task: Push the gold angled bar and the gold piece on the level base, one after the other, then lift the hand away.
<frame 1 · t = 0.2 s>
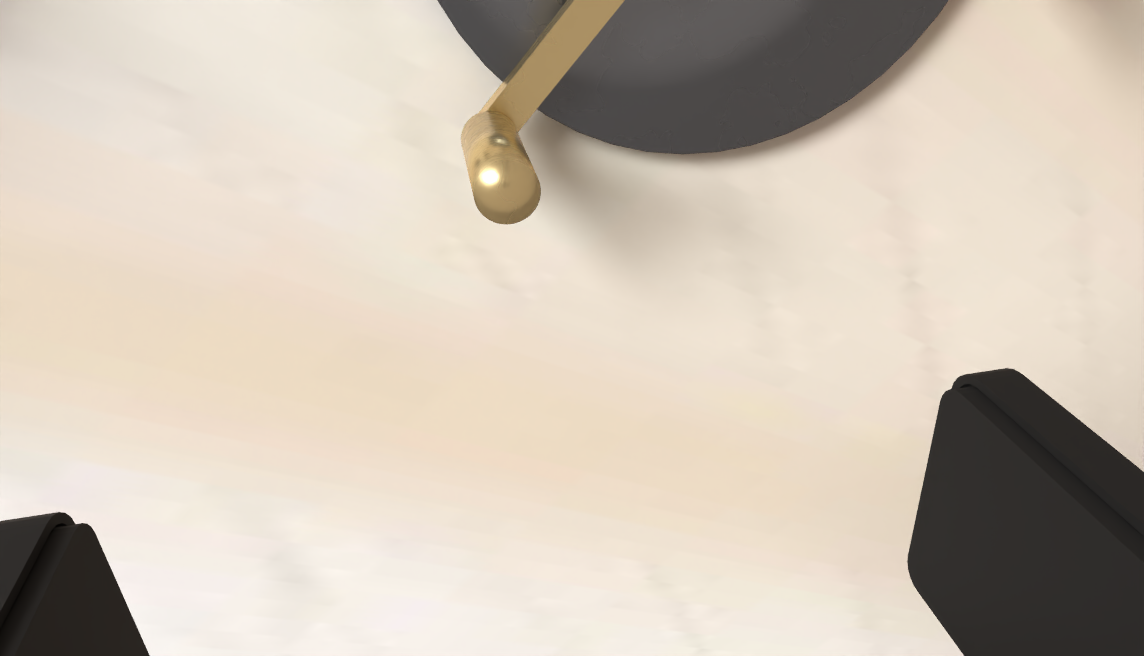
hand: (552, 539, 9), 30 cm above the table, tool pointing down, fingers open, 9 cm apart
gold angled bar 1: (584, 49, 31), point 5 cm above the table, hinge at 0.0°
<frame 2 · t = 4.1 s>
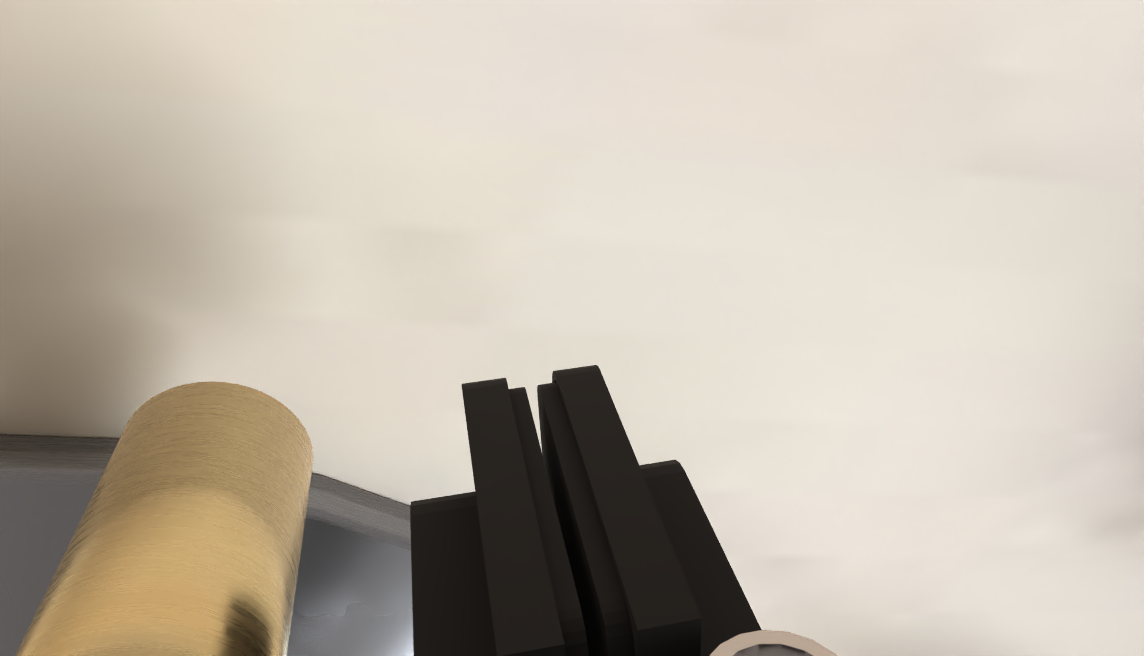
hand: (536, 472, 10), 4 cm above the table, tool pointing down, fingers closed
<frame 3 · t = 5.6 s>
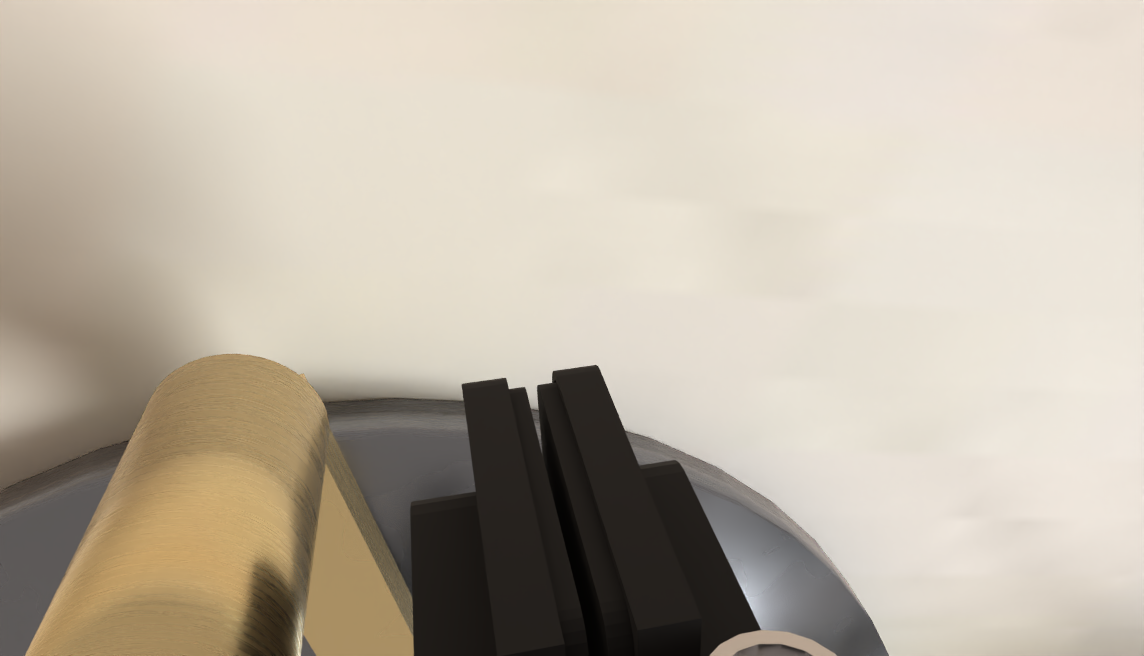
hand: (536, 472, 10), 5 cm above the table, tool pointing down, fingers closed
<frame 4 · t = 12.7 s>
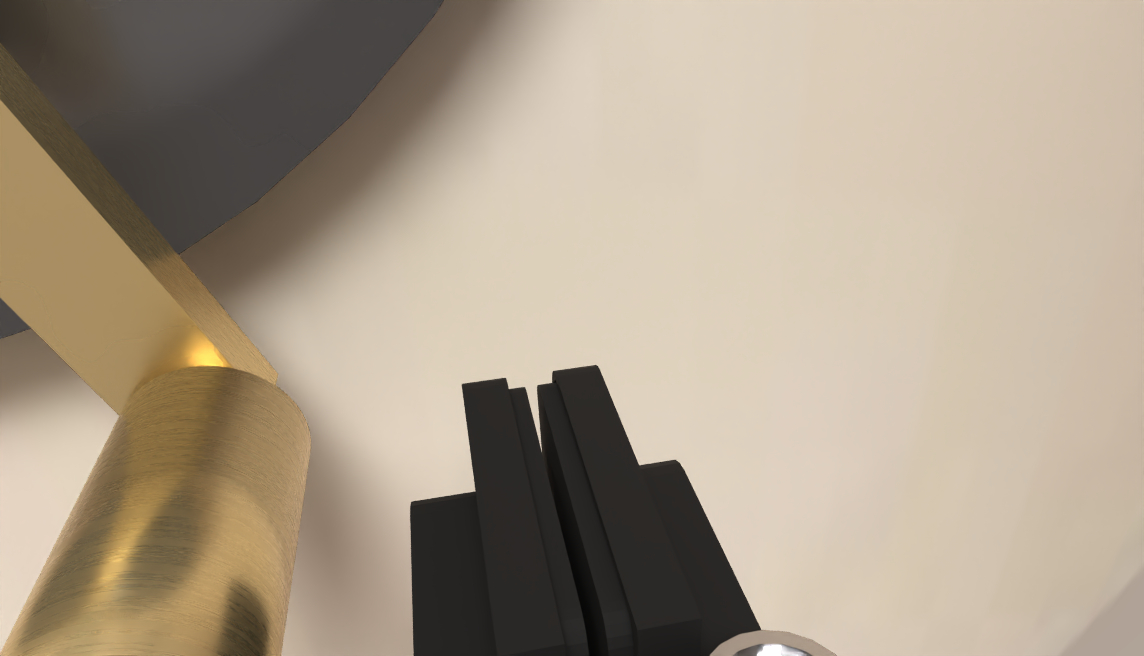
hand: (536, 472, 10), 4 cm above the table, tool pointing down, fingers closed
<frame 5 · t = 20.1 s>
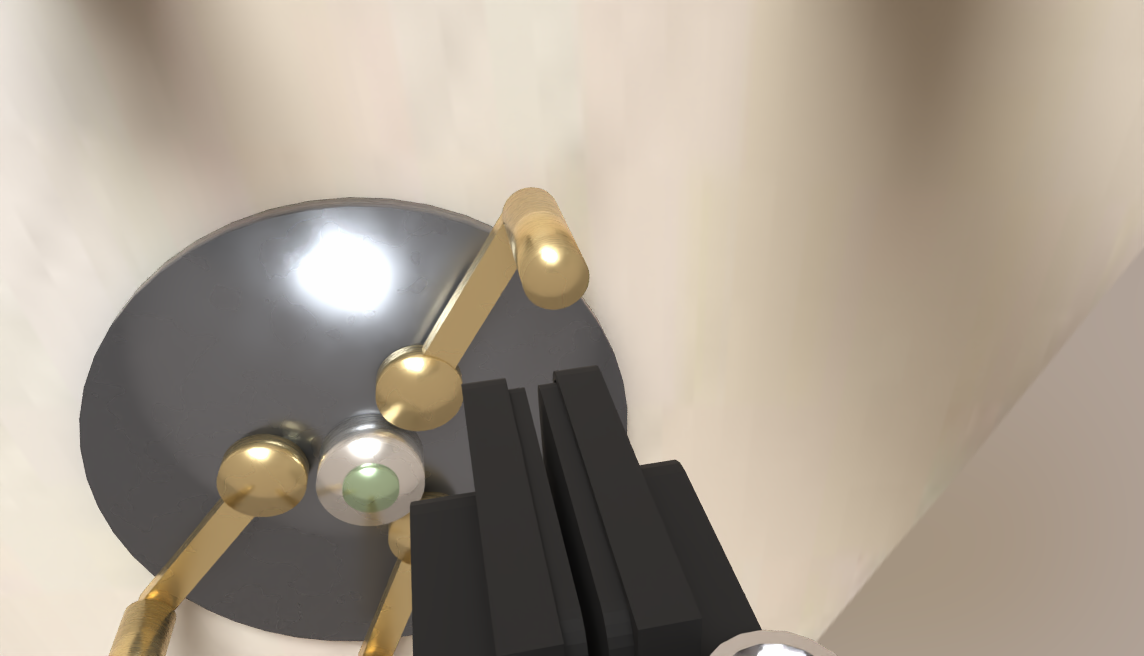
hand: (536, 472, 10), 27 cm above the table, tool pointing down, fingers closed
gold angled bar 1: (197, 587, 38), point 5 cm above the table, hinge at 50.4°
gold bent piece 3: (473, 345, 34), point 5 cm above the table, hinge at 0.0°
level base: (372, 441, 42), on the table
gold piece 2: (401, 641, 42), point 5 cm above the table, hinge at -50.6°
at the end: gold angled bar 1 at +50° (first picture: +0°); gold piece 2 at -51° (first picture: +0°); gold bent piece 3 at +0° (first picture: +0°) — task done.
